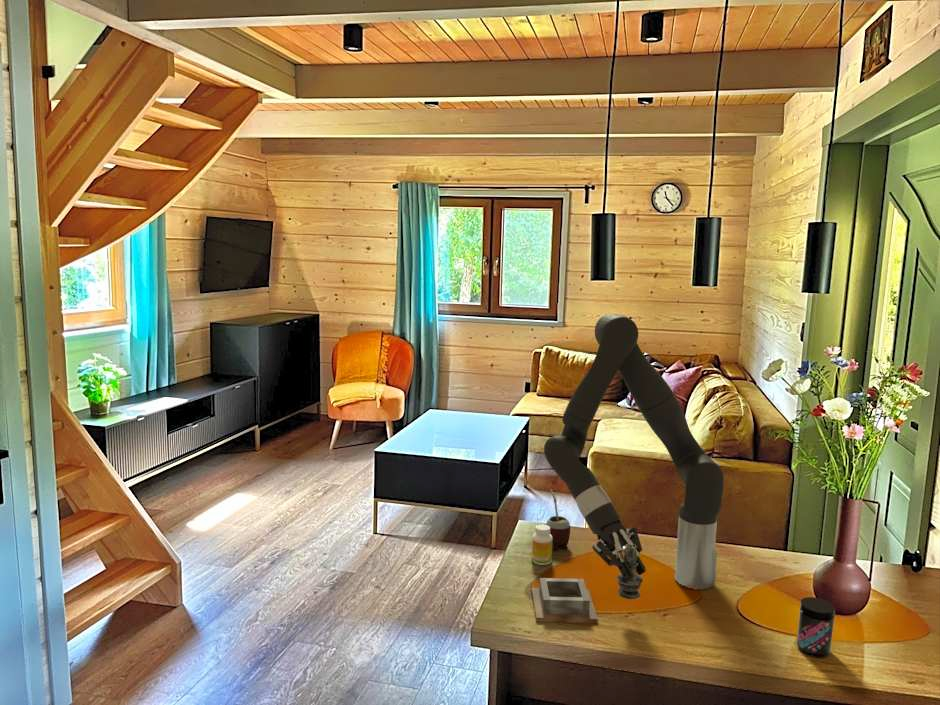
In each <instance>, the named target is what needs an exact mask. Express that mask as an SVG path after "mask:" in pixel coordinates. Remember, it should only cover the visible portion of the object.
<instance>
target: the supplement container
mask: <svg viewBox="0 0 940 705" xmlns="http://www.w3.org/2000/svg"><path fill="white" fill-rule="evenodd" d="M835 614H836V607H835V605H834V604H833V603H832V602H830V601H828V600H825V599H822V598H820V597H813V596H811V597H810V596H809V597H803V598H801V600H800V605H799V616H798V618H799V619H798V625H797V626H798V628H797V636H796V646H797V647H798V649H799V651H801V652H802V653H803V654H805V655H807V656H810V657H814V658H825V657H828V656H829V655H830V653H831V650H832V649H831V648H832V642H833V633H834V622H835V617H836V615H835Z"/></svg>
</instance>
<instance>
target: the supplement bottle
mask: <svg viewBox="0 0 940 705" xmlns="http://www.w3.org/2000/svg"><path fill="white" fill-rule="evenodd" d="M534 531H535V532H534V533H533V535H532V541H531V542H532V543H531V562H533V563H534V564H535V565H540V566H545V565H550V564H551V563H552V559H553V550H552V548H553V546H552V540H553V539H552V535H551V534H550V527H549V526H548V525H546V524H543V523H541V524H536V525H535V530H534Z"/></svg>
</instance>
